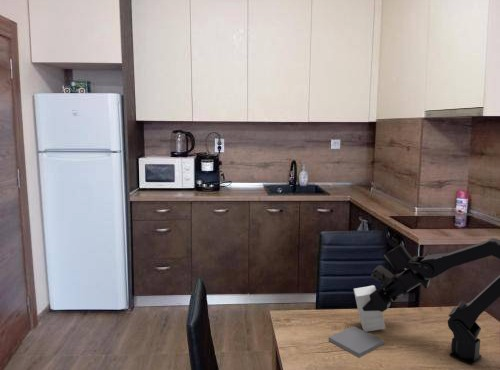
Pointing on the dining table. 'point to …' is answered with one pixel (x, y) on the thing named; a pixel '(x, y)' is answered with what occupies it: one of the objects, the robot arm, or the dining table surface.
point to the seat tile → (356, 341)
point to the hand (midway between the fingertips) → (368, 304)
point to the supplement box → (368, 318)
